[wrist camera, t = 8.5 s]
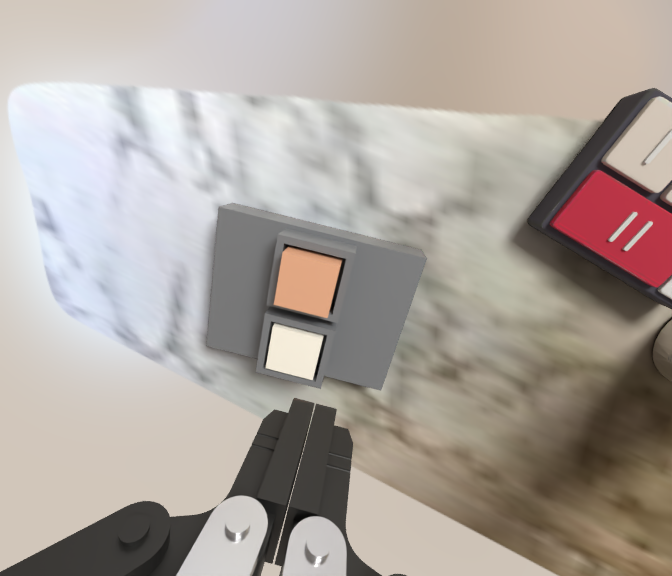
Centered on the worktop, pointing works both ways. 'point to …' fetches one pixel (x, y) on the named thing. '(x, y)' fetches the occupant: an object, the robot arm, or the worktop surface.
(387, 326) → the push button base
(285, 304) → the peach key
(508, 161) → the worktop surface
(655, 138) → the calculator
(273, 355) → the cream key
